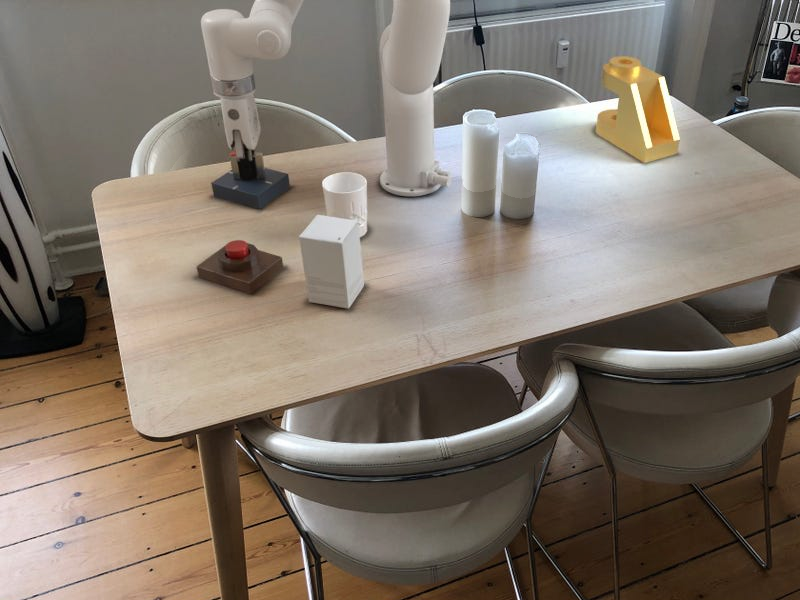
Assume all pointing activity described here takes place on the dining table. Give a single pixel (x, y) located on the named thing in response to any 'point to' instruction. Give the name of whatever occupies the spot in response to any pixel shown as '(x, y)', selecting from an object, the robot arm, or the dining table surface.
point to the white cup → (347, 198)
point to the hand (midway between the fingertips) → (249, 175)
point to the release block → (240, 269)
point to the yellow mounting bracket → (638, 111)
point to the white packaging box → (332, 261)
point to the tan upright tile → (258, 163)
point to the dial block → (251, 188)
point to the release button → (237, 249)
